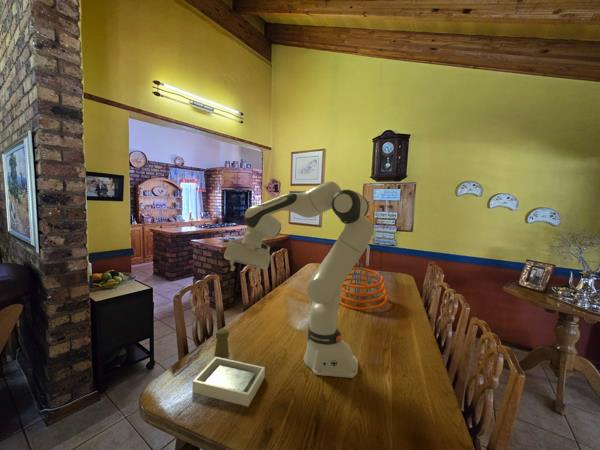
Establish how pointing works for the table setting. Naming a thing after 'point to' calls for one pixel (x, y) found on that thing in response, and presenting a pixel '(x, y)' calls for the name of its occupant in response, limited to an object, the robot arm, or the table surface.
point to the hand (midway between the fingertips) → (242, 273)
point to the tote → (224, 392)
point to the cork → (222, 343)
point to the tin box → (232, 378)
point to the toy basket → (366, 286)
